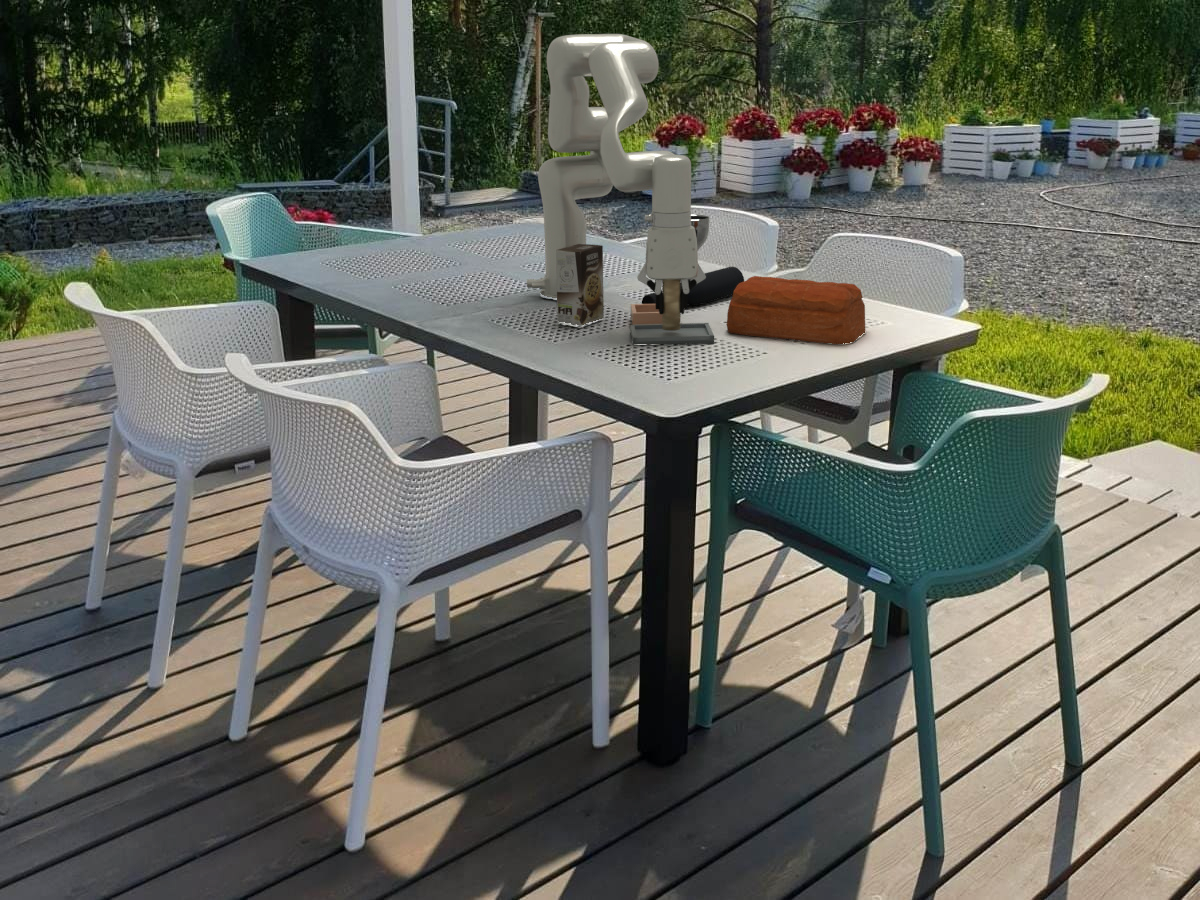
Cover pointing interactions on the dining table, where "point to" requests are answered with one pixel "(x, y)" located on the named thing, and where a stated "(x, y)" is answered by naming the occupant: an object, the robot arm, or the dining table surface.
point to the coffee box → (580, 284)
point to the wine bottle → (709, 287)
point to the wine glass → (700, 228)
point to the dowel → (671, 304)
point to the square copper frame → (645, 314)
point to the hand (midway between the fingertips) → (671, 311)
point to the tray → (672, 334)
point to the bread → (797, 310)
